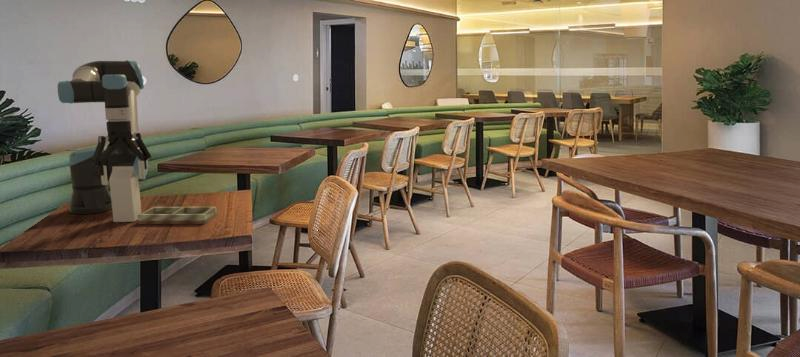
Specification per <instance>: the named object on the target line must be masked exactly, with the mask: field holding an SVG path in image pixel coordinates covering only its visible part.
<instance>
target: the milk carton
mask: <svg viewBox="0 0 800 357" xmlns="http://www.w3.org/2000/svg"><path fill="white" fill-rule="evenodd" d="M112 169H113V170H112V173H111V176H110V179H109V181H108V183H109V188H110V191H109V192H110V195H111V201H112V209H111V210H112V218H113V219H112V221H113V223H127V222H128V223H129V222H131V223H133V222H136V221H138V215H139V214H140V213H142V202H141V194H140V193H141V191H140V182H139V179H138V175H137V173H136V172H135V170H134V167H133V166H120V167H112Z"/></svg>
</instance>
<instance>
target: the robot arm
mask: <svg viewBox="0 0 800 357" xmlns="http://www.w3.org/2000/svg"><path fill="white" fill-rule="evenodd" d="M141 69H142V68H141V66H140V63H139V62H138V61H135V60H127V59H126V60H96V61H91V62H87V63H84V64H82V65H80V66H78V67H76V68H75V69H74V71H73V73H72V79H71V80H64V81H59V82H58V83H57V95H58V100H59V101H60V103H62V104H81V103H82V104H83V103H104V111H105V120H107V121H106V131H107V132H106V133H107V136H104V135H99V136H98V138H97V139H98V140H97V142H98V143H97V145H96V146H93V147H86V148H81V149H77V150H75V151H71V153H70V154H69V156H68V157H69V158H68V159H69V164H68V166H69V170H70V179H71V186H72V188H71V189H72V194H71V197H70V202H69V206H68V207H69V208H68V210H69V213H71V214H74V215H90V214H98V213H102V212H109V211H111V210H112V201H111V191H109V189H108V185H109V179H110V176H111V173H112V170H113V169H112V167H120V166H133V167H134V170H135V172H136V173H137V175H138V180H139V179H140V180H146V179H147V178H146V176H147V173H148V170H149V159H151V158H152V154H151V153H150V152H149V150H148V148H147V146H146V145H145V143H144V141H143V140H142V136H141V135H142V134H141V133H140V132H139V116H138V115H139V114H138V102H137V101H138V100H137V98H138V96H139V95H140V93H141V90H143V89H144V88H145V87H144V86H145V85H144V80H143V76H142V75H143V74H142V71H141ZM107 141H108V144H107V145H106V143H107ZM105 147H106V149H105Z"/></svg>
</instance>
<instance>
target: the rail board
mask: <svg viewBox="0 0 800 357" xmlns="http://www.w3.org/2000/svg"><path fill="white" fill-rule="evenodd" d="M217 210H218V209H217V206H152V207H150V208H149V209H147V210H145V211H143V212H142V211H141V213H140V214H139V215H138V220H137V222H138V225H199V224H200V225H205V224H207V223H208V222H210V221H211V220H212V219H214V218H216V217H217V216H218V211H217Z"/></svg>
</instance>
